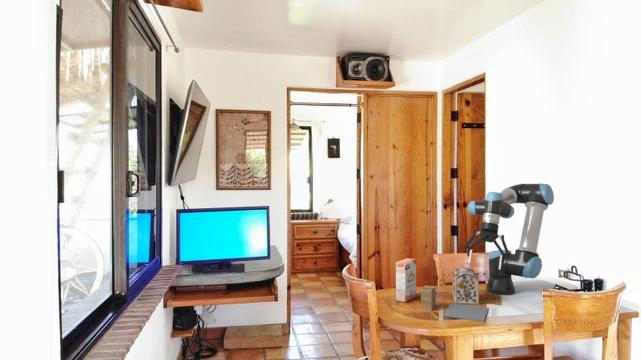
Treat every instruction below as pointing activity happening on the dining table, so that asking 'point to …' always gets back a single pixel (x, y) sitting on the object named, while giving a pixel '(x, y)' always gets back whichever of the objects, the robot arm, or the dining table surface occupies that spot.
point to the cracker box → (405, 279)
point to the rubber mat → (466, 312)
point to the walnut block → (428, 298)
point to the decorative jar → (465, 286)
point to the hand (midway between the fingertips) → (484, 266)
